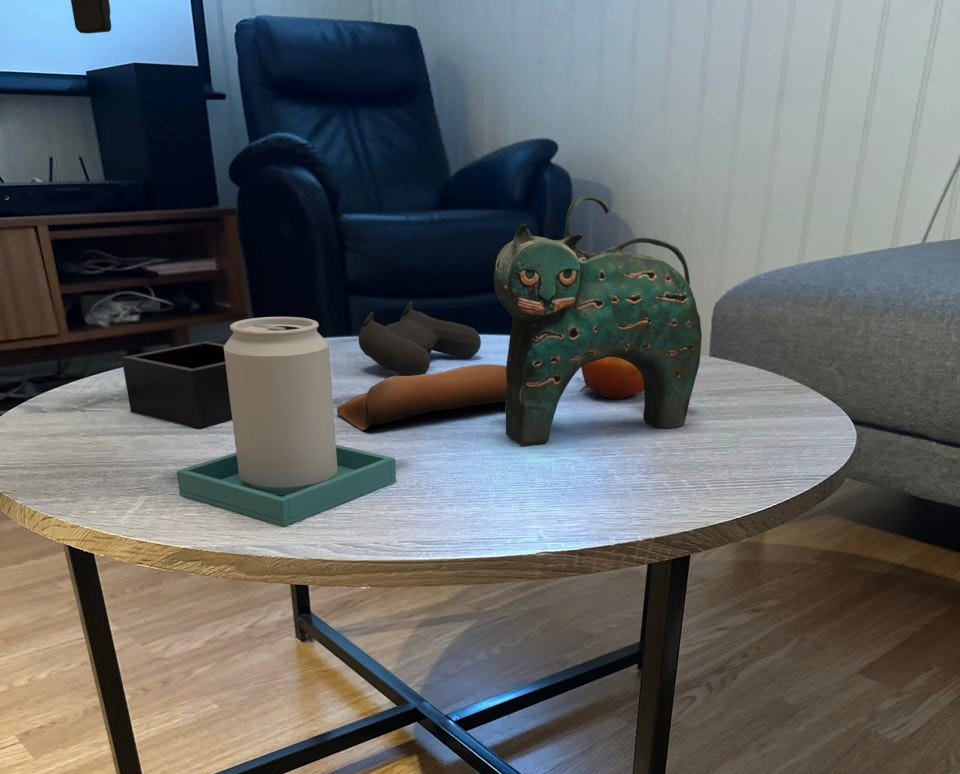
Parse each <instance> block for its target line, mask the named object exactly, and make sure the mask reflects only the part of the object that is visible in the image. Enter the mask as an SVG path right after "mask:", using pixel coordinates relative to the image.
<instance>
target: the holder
mask: <svg viewBox="0 0 960 774" xmlns="http://www.w3.org/2000/svg"><path fill="white" fill-rule="evenodd" d="M224 345H225V344H223V343H218V342H211V341H207V340H205V341H200V342H195V343H189V344H184V345H179V346H174V347H169V348H162V349H158V350H152V351H147V352H142V353H136V354H132V355H126V356H122V357H121V363H122V369H123V375H124V381H125V386H126V387H125V388H126V391H127V392H126V393H127V397H128V398H127V399H128V403H129V409H130V410H129V411H130V413H133V414H136V415H142V416H146V417H150V418H154V419H157V420H161V421H166V422H169V423H174V424H178V425H182V426H185V427H186V426H187V427H190V428H195V429H198V430H200V429H204V428H207V427H212V426H214V425H219V424H222V423H226V422H229V421H232V412H231V404H230V396H229V388H228V379H227V371H226V363H225V355H224Z"/></svg>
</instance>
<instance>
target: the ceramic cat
mask: <svg viewBox="0 0 960 774" xmlns="http://www.w3.org/2000/svg"><path fill="white" fill-rule="evenodd" d="M583 201H594V202H595V203H597V204H598V205H599V206H600V207H601V208H602V209H603V212H605V215H607V214H608V213H609V212H610V208H609V206H608V203H607V202H606V201H605V200H604V199H603V198H601V197H600V196H598V195H593V194H585V195H582V196H580V197H578V198H577V199H576V200H575V199H574V201H572V202H571V204H570V205H569V207H568V209H567V211H566V212H567V213H566V220H565V238H563V239H559V240H557V239H556V240H554V239H549V238H547V237H542V236H536V235H532V233H531V231H530V229H529V228H528V226H527V224H525V223H523V224H521V225H520V227H517V229H516V233H515V235H514V237H513V240H511V241H510V242H508V243H507V244H506V245H504V246H503V247H502V248H501V249H500V251H499V253H498V255H497V257H496V261H495V267H494V273H493V287H494V292H495V294H496V297H497V299H498V300H499V303H500V304H501V305H502V307H503V308H504V309H505V310H506V311H507V312H508V313H509V314H510V315H511V317H512V324H511V329H510V333H509V341H508V349H507V357H506V364H505V366H506V380H507V385H506V401H505V434H506V436H507V437H508V438H509V439H510V440H512V441H513V442H514V443H516V444H518V445H519V446H521V447H523V446H533V445H542V444H546V443H548V442H549V441H550V437H551V430H552V424H553V420H554V418H555V413H556V410H557V407H558V404H559V402H560V399H561V397H562V395H563V393H564V391H565V390H566V389H567V387H568V386H569V383H570V382H571V381H572V379H573V378H574V376H575V375H576V373H578V371H579V369H581V367H582V366H584V365H586V364H588V363H591V362H594V361H596V360H599V359H603V358H607V357H616V358H620V359H623V360H626V361H628V362H630V363H631V364H632V365H634V366H635V367H636V368H637V369H638V370H639V372H640V374H641V375H642V378H643V384H644V390H643V395H644V402H643V403H644V405H643V407H644V408H643V413H642V420H643V422H644V423H645V424H649V425H650V426H652V427H653V428H656V429H672V428H680V427H683V426H684V425H685V424H686V419H687V414H688V410H689V405H690V401H691V397H692V395H693V390H694V386H695V382H696V379H697V375H698V372H699V371H698V370H699V367H700V363H701V351H702V339H703V334H702V324H701V316H700V314H699V312H698V308H697V307H698V306H697V303H696V298H695V296H694V293H693V290H692V288H691V280H690V274H689V273H690V272H689V268H688V263H687V260H686V259H685V256H684V254H683V252H682V251H681V250H680V249H679V248H678V246H675V245H673V244H671V243H670V242H667V241H664V240H661V239H657V238H652V237H651V238H650V237H636V238H632V239H629V240H626V241H623V242H621V243H619V244H617V245H614V246H611V247H609V248H606V249H603V250H601V251H600V252H594V253H591V252H587V251H584V250H582V249H579V248H578V247H576V246H577V244H578V242H579V241H580V240H582V238H583V235H584V234H583V233H579V234H573V235H570V227H569V226H570V218H571V215H572V212H573V211H574V209H575V208H576V207H577V206H578V204H580V203H581V202H583ZM641 243H642V244H650V245H654V246H657V247H662V248H665V249H668V250H669V251H671V252H672V253H673V254H674V255H675V256H676V258H677V259H678V260H679V262H680V263H681V265H682V268H683V273H684V275H683V274H681V273H680V272H679V271H678V270H677V269H675V268H674V267H673V266H672V265H670V264H669V263H668V262H666V261H665V260H662V259H658V258H655V257H652V256H647V255H644V254H643V255H642V254H637V253H633V252H627V251H623V249H625V248H626V247H628V246H631V245H633V244H641ZM578 255H580V256H581V257H578Z"/></svg>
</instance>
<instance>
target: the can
mask: <svg viewBox="0 0 960 774" xmlns="http://www.w3.org/2000/svg"><path fill="white" fill-rule="evenodd" d="M319 326H320V325H319V322H318V321H316V320H314V319H311V318H306V317H296V316H265V317H264V316H263V317H254V318H247V319H241V320H237V321H235V322H233V323H231V324H230V325H229V328H230V331H232V335H231V336H230V337H229V339H228V340H226V343H225V344H224V355H225V363H226V371H227V379H228V388H229V396H230V404H231V412H232V420H231V421H232V428H233V435H234V444H235V453H236V454H237V462H238V470H239V478H241V479H242V480H243V481H244V482H246V483H247V484H249V485H250V486H251V488H253V489H255V490H258V491H262V492H265V493H269V494H272V495H289V494H292V493H295V492H297V491H300V490H303V489H305V488H308V487H311V486H314V485H316V484H319V483H322V482H324V481H327V480H330V479H331V478H332V477H333V476H334V475H335V474H336V472H337V470H338V469H337V455H336V445H337V444H336V443H337V441H336V427H335V414H334V413H335V412H334V399H333V397H334V396H333V385H332V384H333V383H332V370H331V356H330V344H329V343H328V341H327V340H326V339H325V338H324V337H323V336H322V335H321V334H320V333H319V332H318V328H319Z"/></svg>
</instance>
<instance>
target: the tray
mask: <svg viewBox="0 0 960 774" xmlns="http://www.w3.org/2000/svg"><path fill="white" fill-rule="evenodd" d="M336 455H337V469H338V470H337V472H336V474H335V475H334V476H333V477H332V478H331V479H330V480H327V481H324V482H322V483H319V484H316V485H314V486H311V487H308V488H305V489H303V490H300V491H297V492H295V493H292V494H289V495H272V494H269V493H265V492H262V491H258V490H255V489H253V488H251V486H250V485H249V484H247V483H246V482H244V481H243V480H242V479H241V478H239V470H238V462H237V454H236V452H233V453H230V454H226V455H223V456H220V457H217V458H213V459H210V460H207V461H205V462H201V463H198V464H194V465H191V466H188V467H185V468H181V469H179V470H176V477H177V484H178V489H179V492H178V493H179V495H180V496H183V497H187V498H189V499H192V500H196V501H198V502H199V501H200V502H202V503H206V504H210V505H212V506H216V507H219V508H222V509H226V510H229V511H232V512H236V513H239V514H242V515H245V516H249V517H252V518H254V519H255V518H256V519H258V520H262V521H265V522H268V523H271V524H275V525H277V526H281V527H287V526H289V525H292V524H294V523H297V522H299V521H301V520H304V519H307V518H308V517H311V516H314V515H316V514H319V513H322V512H324V511H326V510H329V509H332V508H334V507H336V506H339V505H341V504H345V503H346V502H348V501H351V500H353V499H356V498H358V497H361V496H363V495H366V494H368V493H371V492H373V491H376V490H378V489H381V488H383V487H386V486H388V485H390V484H391V485H392V484H393V483H396V482H397V470H396V465H397V464H396V458H395V457H392V456H387V455H382V454H378V453H374V452H370V451H366V450H361V449H357V448H353V447H348V446H344V445H340V444H336Z"/></svg>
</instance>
